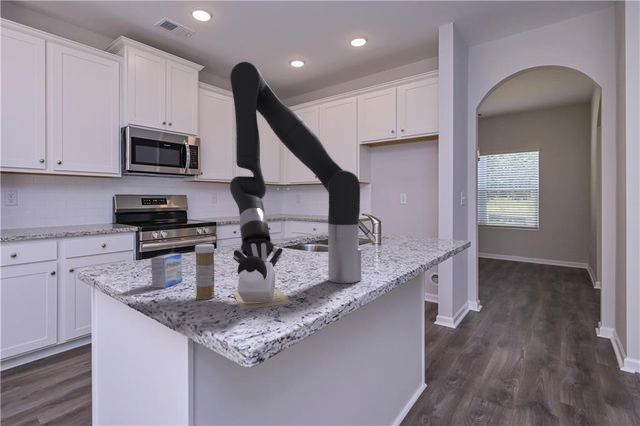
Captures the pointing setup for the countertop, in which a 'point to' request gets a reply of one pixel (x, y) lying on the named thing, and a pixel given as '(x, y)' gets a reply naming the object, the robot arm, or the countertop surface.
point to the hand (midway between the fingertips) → (262, 283)
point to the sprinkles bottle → (204, 271)
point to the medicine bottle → (256, 280)
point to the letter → (278, 300)
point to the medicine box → (166, 270)
